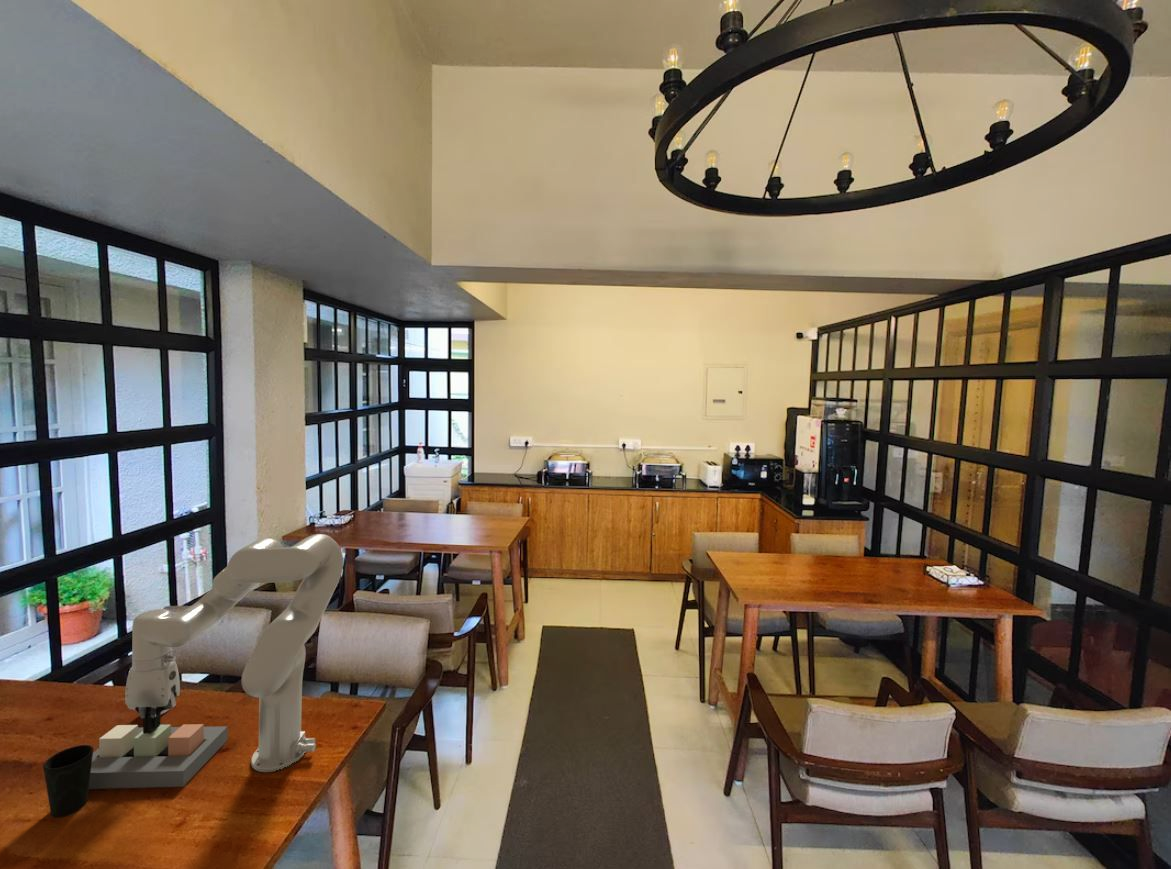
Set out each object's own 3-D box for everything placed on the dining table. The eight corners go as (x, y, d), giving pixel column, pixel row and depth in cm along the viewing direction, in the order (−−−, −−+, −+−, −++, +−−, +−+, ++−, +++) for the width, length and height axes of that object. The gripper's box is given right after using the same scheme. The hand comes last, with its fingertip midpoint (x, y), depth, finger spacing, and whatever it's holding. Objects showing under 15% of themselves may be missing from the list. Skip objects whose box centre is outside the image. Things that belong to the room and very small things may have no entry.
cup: (92, 788, 113) (91, 739, 112) (95, 806, 108) (95, 755, 107) (43, 808, 107) (42, 757, 106) (44, 828, 102) (43, 775, 101)
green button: (171, 742, 124) (171, 724, 123) (155, 756, 119) (155, 737, 118) (150, 743, 123) (150, 724, 123) (134, 757, 118) (133, 738, 118)
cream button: (138, 743, 123) (138, 724, 123) (121, 757, 118) (120, 738, 118) (117, 743, 122) (117, 725, 122) (99, 757, 117) (99, 738, 117)
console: (227, 740, 130) (227, 726, 130) (183, 786, 114) (183, 770, 114) (125, 741, 128) (125, 727, 128) (66, 789, 112) (66, 773, 112)
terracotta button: (203, 742, 124) (203, 724, 124) (189, 756, 119) (189, 737, 119) (183, 742, 124) (183, 724, 124) (168, 756, 119) (168, 737, 119)
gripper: (194, 653, 124) (193, 720, 125) (133, 652, 123) (132, 720, 124) (172, 668, 117) (171, 740, 117) (106, 668, 115) (106, 740, 116)
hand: (151, 729), depth 120 cm, fingers closed
